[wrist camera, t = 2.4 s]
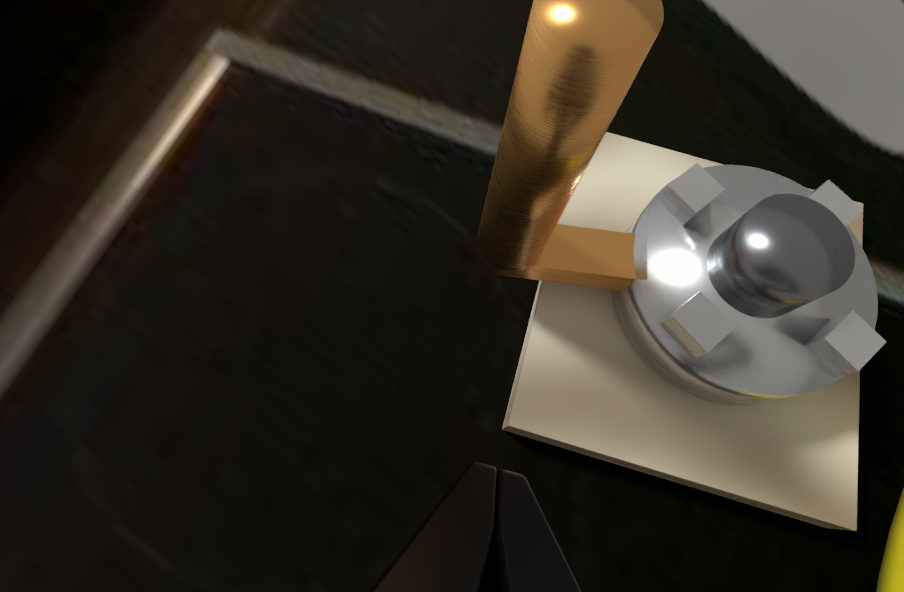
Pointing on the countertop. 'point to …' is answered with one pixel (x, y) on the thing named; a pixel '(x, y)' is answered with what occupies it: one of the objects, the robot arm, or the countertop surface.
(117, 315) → the countertop surface
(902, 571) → the banana
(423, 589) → the robot arm
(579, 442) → the flange board
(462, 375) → the countertop surface
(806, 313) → the disc with rod
